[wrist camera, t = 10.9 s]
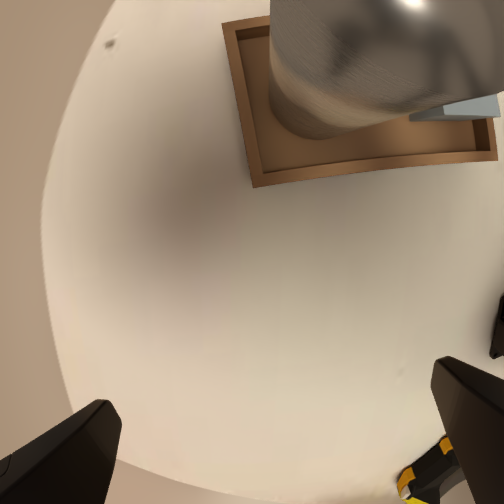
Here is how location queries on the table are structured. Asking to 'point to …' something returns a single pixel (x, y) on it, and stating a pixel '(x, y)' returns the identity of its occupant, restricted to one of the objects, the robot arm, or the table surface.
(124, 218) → the table surface
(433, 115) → the pale grey cube
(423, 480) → the gaming controller
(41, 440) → the robot arm
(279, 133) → the walnut tray
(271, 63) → the metal cylinder
